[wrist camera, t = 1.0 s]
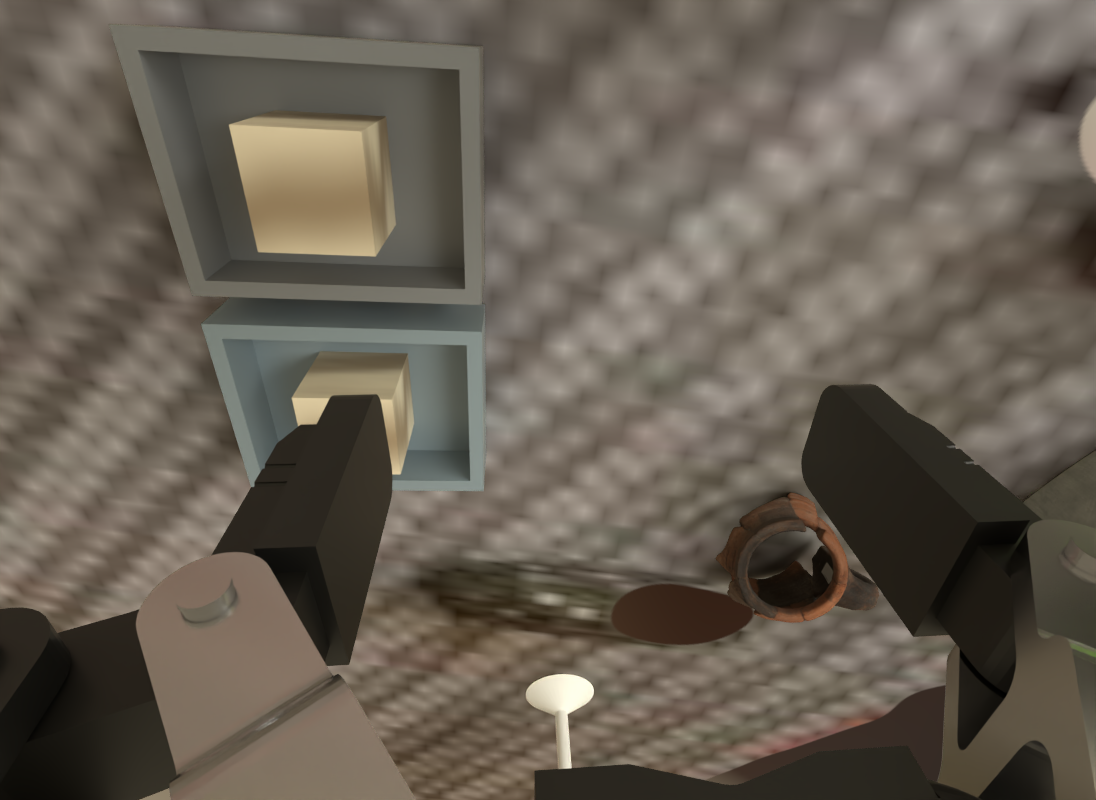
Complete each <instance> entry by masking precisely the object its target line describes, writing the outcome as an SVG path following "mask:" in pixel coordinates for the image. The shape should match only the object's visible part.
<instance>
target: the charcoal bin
mask: <svg viewBox="0 0 1096 800" xmlns="http://www.w3.org/2000/svg"><path fill="white" fill-rule="evenodd" d="M109 27H110V31H111V34H112V37H113V40H114V44H115V47H116V50H117V53H118V57H119V60H120V63H121V66H122V70H123V73H124V76H125V79H126V82H127V86H128V89H129V92H130V95H131V99H132V102H133V105H134V108H135V112H136V115H137V118H138V121H139V125H140V128H141V131H142V134H143V138H144V141H145V144H146V147H147V151H148V154H149V157H150V160H151V164H152V167H153V170H154V173H155V177H156V180H157V183H158V186H159V190H160V193H161V196H162V199H163V202H164V206H165V209H166V212H167V215H168V219H169V222H170V225H171V228H172V232H173V235H174V238H175V241H176V245H177V248H178V251H179V254H180V258H181V261H182V264H183V267H184V271H185V274H186V277H187V280H188V284H189V287H190V290H191V293H192V296H212V297H244V298H275V299H307V300H339V301H370V302H402V303H434V304H466V305H482V298H483V290H484V282H485V219H484V67H483V46H471V45H455V44H440V43H424V42H408V41H393V40H377V39H362V38H346V37H330V36H315V35H299V34H283V33H268V32H252V31H236V30H221V29H205V28H189V27H174V26H157V25H125V24H109ZM275 110H280V111H298V112H316V113H335V114H353V115H371V116H386V120H387V131H388V142H389V153H390V164H391V175H392V186H393V197H394V207H395V218H396V225H395V227H394V229H393V230H392V232H391V233H390V235H389V236H388V238H387V240H386V241H385V243H384V244H383V246H382V247H381V249H380V251H379V252H378V254H377V255H376V257H375V256H348V255H321V254H294V253H267V252H258V250H257V245H256V241H255V236H254V232H253V228H252V223H251V219H250V215H249V210H248V206H247V202H246V197H245V193H244V189H243V184H242V180H241V176H240V171H239V167H238V163H237V158H236V154H235V150H234V145H233V141H232V137H231V132H230V128H229V124H232V123H236V122H239V121H242V120H245V119H249V118H252V117H255V116H258V115H262V114H265V113H268V112H272V111H275Z"/></svg>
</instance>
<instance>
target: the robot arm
mask: <svg viewBox="0 0 1096 800" xmlns="http://www.w3.org/2000/svg"><path fill="white" fill-rule="evenodd" d="M802 474H803V478H804V481H805V483H806V485H807V487H808V489H809V490H810V491H811V493H812V494H813V496H814V497H815V499H816V500H817V501H818V503H819V504H820V506H821V507H822V508H823V510H824V511H825V513H826V514H827V515H828V517H829V518H830V520H831V521H832V523H833V524H834V525H835V527H836V528H837V530H838V531H839V532H840V534H841V535H842V537H843V538H844V540H845V541H846V542H847V544H848V545H849V547H850V548H851V549H852V551H853V552H854V554H855V555H856V556H857V558H858V559H859V561H860V562H861V564H862V565H863V566H864V568H865V569H866V571H867V572H868V573H869V575H870V576H871V578H872V579H873V580H874V582H875V583H876V585H877V586H878V588H879V589H880V590H881V592H882V593H883V595H884V596H885V597H886V599H887V600H888V602H889V603H890V604H891V606H892V607H893V609H894V610H895V612H896V613H897V614H898V616H899V617H900V619H901V620H902V621H903V623H904V624H905V626H906V627H907V628H908V630H909V631H910V633H911V634H912V636H913V637H918V636H937V635H950V637H951V638H952V639H953V640H954V642H955V643H956V644H955V646H954V647H953V649H952V650H951V652H950V654H949V655H948V659H947V670H946V691H945V711H944V733H943V753H942V764H941V770H940V774H939V778H938V781H937V782H935V781H932V780H927V778H926V776H925V775H924V773H923V771H922V769H921V768H920V766H919V765H918V763H917V761H916V759H915V758H914V756H913V754H912V752H911V751H910V749H909V748H908V746H895V747H880V748H865V749H851V750H837V751H836V750H835V751H821V752H817V753H815V754H812V755H810V756H807V757H805V758H803V759H800V760H798V761H795V762H793V763H791V764H788V765H786V766H783V767H781V768H778V769H776V770H774V771H771V772H769V773H766V774H764V775H762V776H759V777H757V778H754V779H752V780H750V781H747V782H745V783H742V784H738V785H724V784H719V783H714V782H709V781H705V780H700V779H696V778H691V777H686V776H682V775H677V774H672V773H668V772H663V771H658V770H654V769H649V768H644V767H639V766H635V765H630V764H627V765H612V766H597V767H583V768H568V769H553V770H538V771H535V800H1096V529H1095V528H1092V527H1089V526H1086V525H1082V524H1079V523H1075V522H1070V521H1065V520H1042V519H1041V518H1040V517H1039V516H1038V515H1036V514H1035V513H1034V512H1033V511H1032V510H1031V509H1029V508H1028V507H1027V506H1026V505H1025V504H1024V503H1022V502H1021V501H1020V500H1019V499H1018V498H1017V497H1015V496H1014V495H1013V494H1012V493H1011V492H1010V491H1008V490H1007V489H1006V488H1005V487H1004V486H1003V485H1001V484H1000V483H999V482H998V481H997V480H996V479H994V478H993V477H992V476H991V475H990V474H989V473H987V472H986V471H985V470H984V469H983V468H982V467H980V466H979V465H974V461H973V460H972V459H971V458H970V457H969V456H968V455H966V454H965V453H964V452H963V451H962V450H961V449H956V448H955V444H954V443H952V442H951V441H950V440H949V439H948V438H947V437H945V436H944V435H943V434H942V433H941V432H940V431H938V430H937V429H936V428H935V427H934V426H932V425H930V424H928V423H926V422H925V421H923V420H921V419H919V418H917V417H915V416H913V415H911V414H910V413H908V412H907V411H906V410H905V409H903V408H902V407H901V406H900V405H899V404H898V403H897V402H895V401H894V400H893V399H892V398H891V397H890V396H889V395H887V394H886V393H885V392H884V391H883V390H882V389H881V388H879V387H878V386H876V385H872V384H861V385H831V386H829V387H827V388H826V389H825V390H824V391H823V393H822V395H821V397H820V400H819V403H818V406H817V409H816V413H815V416H814V419H813V422H812V425H811V429H810V432H809V435H808V438H807V441H806V444H805V448H804V451H803V455H802ZM391 495H392V465H391V458H390V452H389V446H388V440H387V434H386V428H385V422H384V416H383V410H382V405H381V401H380V398H379V396H378V395H377V394H364V395H333V396H331V397H330V399H329V401H328V403H327V405H326V407H325V409H324V410H323V412H322V414H321V416H320V418H319V420H318V422H317V424H304V425H299V426H298V427H297V428H296V429H294V430H293V431H292V432H291V433H289V434H288V435H287V436H285V437H284V438H283V439H282V440H280V441H279V442H278V443H277V444H276V446H275V448H274V449H273V451H272V453H271V455H270V456H269V458H268V460H267V461H266V463H265V469H262V470H261V472H260V473H259V475H258V477H257V478H256V480H255V482H254V487H251V489H250V490H249V492H248V494H247V496H246V497H245V499H244V501H243V502H242V504H241V506H240V508H239V509H238V511H237V513H236V514H235V516H234V518H233V520H232V521H231V523H230V525H229V526H228V528H227V530H226V532H225V533H224V535H223V537H222V538H221V540H220V542H219V543H218V545H217V547H216V549H215V550H214V552H213V554H212V555H211V556H208V557H204V558H201V559H199V560H196V561H194V562H191V563H189V564H187V565H185V566H183V567H181V568H180V569H178V570H177V571H175V572H173V573H172V574H170V575H169V576H168V577H166V578H165V579H164V580H163V581H161V582H160V583H159V584H158V585H157V586H156V587H155V588H154V589H153V590H152V591H151V592H150V594H149V595H148V596H147V597H146V599H145V600H144V602H143V604H142V605H141V607H140V609H139V610H136V611H133V612H130V613H127V614H123V615H120V616H116V617H112V618H109V619H105V620H102V621H98V622H95V623H91V624H88V625H84V626H81V627H77V628H74V629H70V630H67V631H63V632H60V633H57V632H56V631H55V629H54V628H53V626H52V625H51V624H50V622H49V621H48V619H47V618H46V616H44V615H43V614H42V613H40V612H39V611H36V610H33V609H29V608H7V609H0V800H139V799H142V798H144V797H147V796H150V795H152V794H155V793H157V792H160V791H163V790H165V789H168V788H169V789H170V797H171V800H416V799H415V797H414V795H413V794H412V792H411V790H410V789H409V787H408V785H407V784H406V782H405V780H404V778H403V777H402V775H401V773H400V772H399V770H398V768H397V767H396V765H395V763H394V762H393V760H392V758H391V757H390V755H389V753H388V752H387V750H386V748H385V746H384V745H383V743H382V741H381V740H380V738H379V736H378V735H377V733H376V731H375V730H374V728H373V726H372V725H371V723H370V721H369V719H368V718H367V716H366V714H365V713H364V711H363V709H362V708H361V706H360V704H359V703H358V701H357V699H356V698H355V696H354V694H353V693H352V691H351V689H350V688H349V686H348V685H347V683H346V682H345V681H344V679H343V678H342V677H341V676H340V675H339V674H337V675H335V676H333V675H332V673H331V672H330V670H329V669H328V667H327V666H333V665H349V663H350V659H351V655H352V651H353V647H354V643H355V639H356V635H357V631H358V627H359V623H360V620H361V616H362V612H363V608H364V604H365V600H366V596H367V592H368V588H369V584H370V580H371V576H372V572H373V568H374V564H375V560H376V556H377V552H378V548H379V544H380V541H381V537H382V533H383V529H384V525H385V521H386V517H387V513H388V509H389V505H390V501H391Z"/></svg>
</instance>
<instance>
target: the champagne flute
mask: <svg viewBox="0 0 1096 800" xmlns="http://www.w3.org/2000/svg"><path fill="white" fill-rule="evenodd" d="M593 694H594V689H593V686H592V685H591V683H590V682H589V681H587V680H586V679H584V678H582V677H579V676H575V675H569V674H556V675H550V676H547V677H543V678H541V679H539V680H537V681H535V682H533V683H532V684H531V685H530V686H529V687H528V689H527V691H526V699H527V701H528V702H529V703H530V704H531V705H532V706H533V707H535V708H537V709H540V710H542V711H545V712H548V713H550V714H553V715H555V722H556V739H557V756H558V769H568V768H571V754H570V741H569V728H568V715H567V714H569V713H571V712H573V711H574V710H576V709H578V708H580V707H581V706H583V705H585V704H586V703H588V702H589V701H590V700H591V698H592V697H593Z"/></svg>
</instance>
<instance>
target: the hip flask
mask: <svg viewBox="0 0 1096 800" xmlns="http://www.w3.org/2000/svg"><path fill="white" fill-rule="evenodd" d="M1023 503H1024V504H1025V505H1026V506H1027V507H1028V508H1029V509H1031V510H1032V511H1033V512H1034V513H1035V514H1036V515H1038V516H1039V517H1040V518H1041V519H1042V520H1065V521H1070V522H1075V523H1079V524H1082V525H1086V526H1089V527H1092V528H1095V529H1096V450H1095V451H1094V452H1092V453H1091V454H1089V455H1088V456H1086V457H1085V458H1083V459H1082V460H1080V461H1079V462H1077V463H1076V464H1074V465H1073V466H1071V467H1070V468H1068V469H1067V470H1065V471H1064V472H1063V473H1061V474H1060V475H1058V476H1057V477H1056V478H1054V479H1053V480H1051V481H1050V482H1049V483H1047V484H1046V485H1045V486H1043V487H1042V488H1041V489H1039V490H1038V491H1037V492H1035V493H1034V494H1033V495H1031V496H1030V497H1029V498H1028V499H1026V500H1025V501H1024V502H1023Z"/></svg>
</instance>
